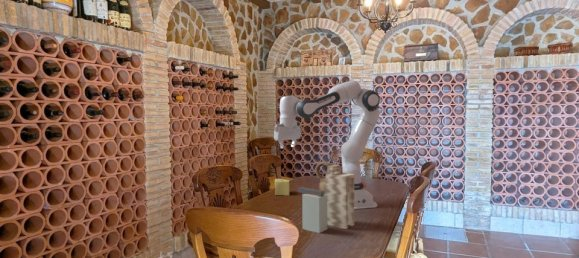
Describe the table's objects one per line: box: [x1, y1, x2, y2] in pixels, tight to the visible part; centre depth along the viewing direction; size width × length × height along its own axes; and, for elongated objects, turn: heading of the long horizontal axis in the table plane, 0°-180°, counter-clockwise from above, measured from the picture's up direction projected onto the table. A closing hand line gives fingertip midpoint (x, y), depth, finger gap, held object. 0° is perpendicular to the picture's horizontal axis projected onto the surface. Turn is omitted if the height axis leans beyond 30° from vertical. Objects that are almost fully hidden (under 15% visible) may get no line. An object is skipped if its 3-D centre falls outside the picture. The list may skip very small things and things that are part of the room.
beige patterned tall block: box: [325, 164, 355, 230], centre depth 182 cm, size 12×8×30 cm, turn 51°
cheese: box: [274, 178, 290, 196], centre depth 251 cm, size 10×11×10 cm
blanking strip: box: [297, 186, 324, 196], centre depth 177 cm, size 14×3×2 cm, turn 51°
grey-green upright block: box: [301, 193, 328, 234], centre depth 176 cm, size 10×7×17 cm
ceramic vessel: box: [314, 161, 338, 195], centre depth 233 cm, size 18×19×25 cm
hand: (287, 147), depth 204 cm, fingers open, 8 cm apart
